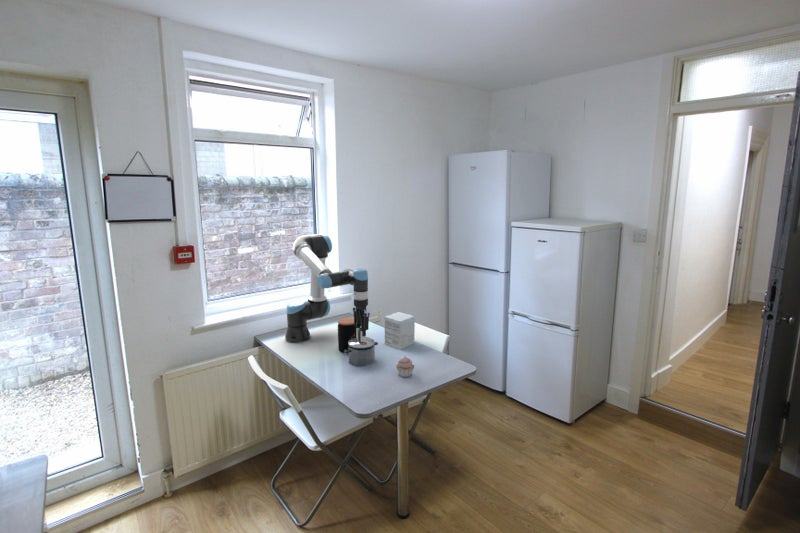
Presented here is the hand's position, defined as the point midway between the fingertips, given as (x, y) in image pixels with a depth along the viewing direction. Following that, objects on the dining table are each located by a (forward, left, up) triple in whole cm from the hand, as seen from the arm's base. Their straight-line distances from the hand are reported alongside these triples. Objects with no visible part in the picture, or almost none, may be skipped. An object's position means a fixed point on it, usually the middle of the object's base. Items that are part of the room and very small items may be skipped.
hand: (361, 340), depth 215 cm
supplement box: (-7, +31, -12) cm, 34 cm away
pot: (0, 0, -12) cm, 12 cm away
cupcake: (+27, +9, -12) cm, 31 cm away
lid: (0, 0, -3) cm, 3 cm away
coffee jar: (-17, +1, -12) cm, 21 cm away
